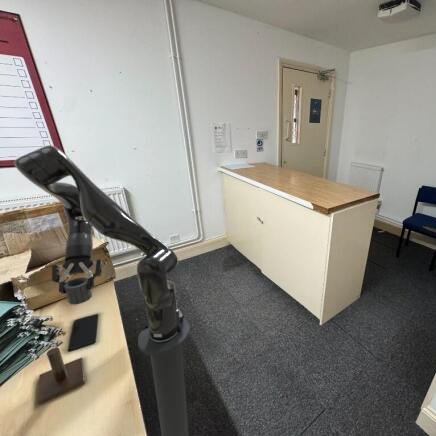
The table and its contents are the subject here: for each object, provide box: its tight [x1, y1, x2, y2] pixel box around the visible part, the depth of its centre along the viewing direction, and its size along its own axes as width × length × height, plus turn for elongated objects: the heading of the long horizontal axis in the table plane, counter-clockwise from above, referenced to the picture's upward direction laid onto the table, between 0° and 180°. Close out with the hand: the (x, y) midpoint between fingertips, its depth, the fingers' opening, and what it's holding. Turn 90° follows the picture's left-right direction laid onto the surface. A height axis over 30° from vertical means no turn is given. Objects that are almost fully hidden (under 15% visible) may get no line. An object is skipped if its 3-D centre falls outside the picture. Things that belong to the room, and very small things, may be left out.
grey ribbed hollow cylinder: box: [64, 276, 93, 306], centre depth 84 cm, size 6×6×7 cm
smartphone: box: [67, 313, 99, 353], centre depth 81 cm, size 7×1×15 cm
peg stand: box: [37, 347, 85, 405], centre depth 64 cm, size 9×9×11 cm
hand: (76, 291), depth 83 cm, fingers closed on grey ribbed hollow cylinder, 6 cm apart
